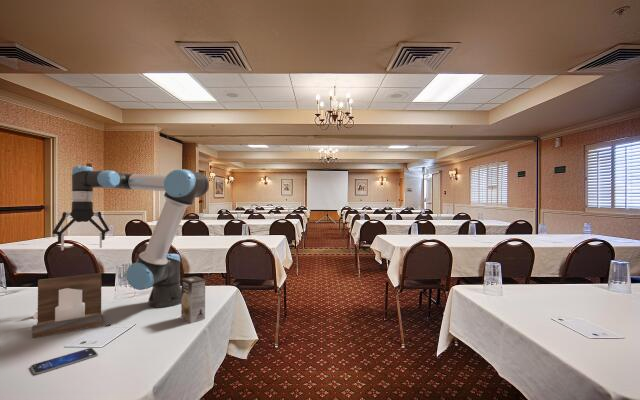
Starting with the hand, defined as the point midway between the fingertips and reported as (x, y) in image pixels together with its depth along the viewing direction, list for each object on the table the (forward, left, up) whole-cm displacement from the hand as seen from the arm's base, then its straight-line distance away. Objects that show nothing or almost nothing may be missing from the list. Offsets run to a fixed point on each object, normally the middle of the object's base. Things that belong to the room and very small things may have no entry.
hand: (82, 248), depth 142 cm
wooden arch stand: (-8, +20, -27) cm, 34 cm away
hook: (+10, +7, -27) cm, 30 cm away
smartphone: (-26, +50, -27) cm, 62 cm away
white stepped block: (-8, +20, -25) cm, 33 cm away
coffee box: (-53, +17, -27) cm, 62 cm away
